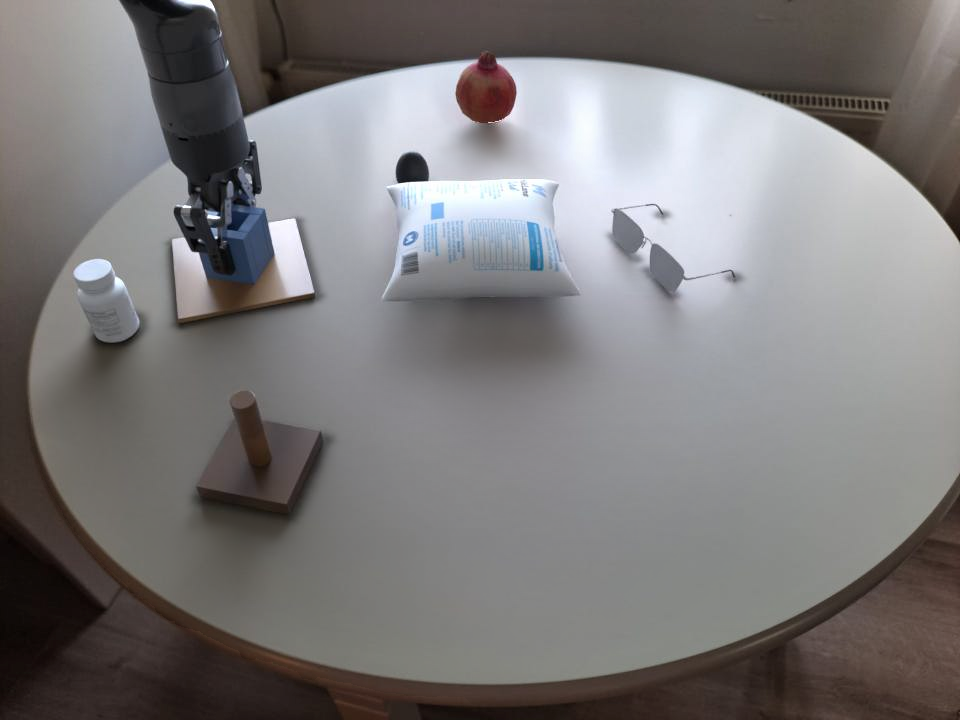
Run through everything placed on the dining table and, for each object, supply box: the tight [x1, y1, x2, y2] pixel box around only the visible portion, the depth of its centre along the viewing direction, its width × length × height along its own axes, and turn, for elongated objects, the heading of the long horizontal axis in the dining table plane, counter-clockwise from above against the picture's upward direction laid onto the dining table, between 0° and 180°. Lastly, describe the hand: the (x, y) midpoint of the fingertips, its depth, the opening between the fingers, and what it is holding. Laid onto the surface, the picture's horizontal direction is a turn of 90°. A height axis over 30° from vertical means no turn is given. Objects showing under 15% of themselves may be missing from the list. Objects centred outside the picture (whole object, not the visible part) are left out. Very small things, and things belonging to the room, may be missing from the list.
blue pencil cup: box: [199, 204, 275, 285], centre depth 86 cm, size 6×6×6 cm
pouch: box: [381, 178, 582, 302], centre depth 87 cm, size 8×19×20 cm
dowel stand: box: [195, 389, 324, 515], centre depth 67 cm, size 8×8×9 cm
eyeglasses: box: [610, 203, 736, 292], centre depth 90 cm, size 14×8×4 cm, turn 27°
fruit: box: [455, 50, 518, 125], centre depth 108 cm, size 8×8×10 cm
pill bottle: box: [73, 258, 140, 344], centre depth 79 cm, size 4×4×8 cm
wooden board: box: [171, 217, 316, 324], centre depth 88 cm, size 14×14×1 cm
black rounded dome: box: [395, 149, 430, 184], centre depth 98 cm, size 4×4×5 cm
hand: (237, 254), depth 87 cm, fingers closed on blue pencil cup, 5 cm apart
